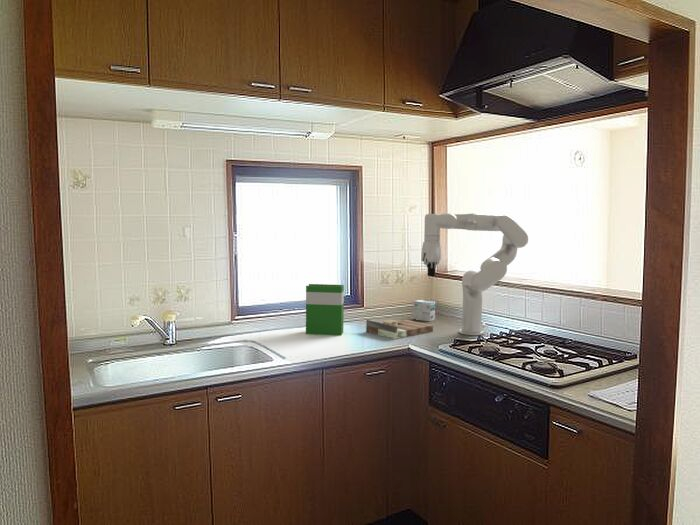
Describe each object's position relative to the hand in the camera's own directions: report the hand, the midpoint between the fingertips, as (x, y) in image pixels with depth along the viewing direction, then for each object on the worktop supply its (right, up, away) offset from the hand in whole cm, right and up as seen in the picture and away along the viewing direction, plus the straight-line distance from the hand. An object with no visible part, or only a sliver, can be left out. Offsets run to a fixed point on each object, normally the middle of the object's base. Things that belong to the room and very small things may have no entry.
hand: (431, 276), depth 258 cm
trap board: (-15, -28, +7) cm, 33 cm away
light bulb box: (+2, -26, +39) cm, 47 cm away
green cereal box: (-53, -29, +2) cm, 60 cm away
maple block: (-20, -26, -2) cm, 33 cm away
